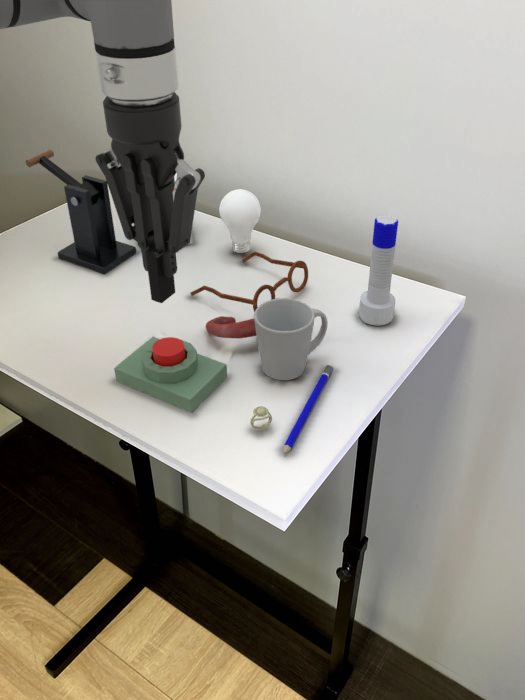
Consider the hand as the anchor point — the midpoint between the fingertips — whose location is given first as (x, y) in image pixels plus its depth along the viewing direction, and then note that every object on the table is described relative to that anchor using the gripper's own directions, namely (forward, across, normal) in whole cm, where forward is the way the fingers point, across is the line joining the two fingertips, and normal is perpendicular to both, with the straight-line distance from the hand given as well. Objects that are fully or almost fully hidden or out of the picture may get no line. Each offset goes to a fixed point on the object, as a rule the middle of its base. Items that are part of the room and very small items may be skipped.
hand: (163, 296), depth 84 cm
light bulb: (+13, -10, +32) cm, 36 cm away
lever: (+1, -35, +20) cm, 40 cm away
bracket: (+13, -30, +20) cm, 38 cm away
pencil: (+13, +17, +4) cm, 22 cm away
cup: (+13, +12, +10) cm, 20 cm away
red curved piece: (+11, +7, +19) cm, 23 cm away
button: (+9, 0, 0) cm, 9 cm away
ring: (+13, +15, -2) cm, 20 cm away
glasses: (+13, -2, +23) cm, 26 cm away
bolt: (+13, +17, +26) cm, 34 cm away
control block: (+13, 0, 0) cm, 13 cm away
